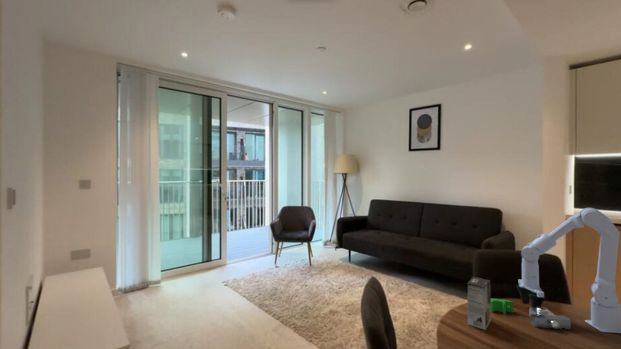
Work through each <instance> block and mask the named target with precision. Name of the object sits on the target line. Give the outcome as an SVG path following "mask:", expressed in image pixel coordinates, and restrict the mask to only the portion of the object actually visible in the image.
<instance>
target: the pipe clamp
mask: <svg viewBox="0 0 621 349" xmlns="http://www.w3.org/2000/svg"><path fill="white" fill-rule="evenodd" d="M513 303H514V301H512V300H507V299H499V298H492V297H491V313H494V312H500V313H502V312H503V315H506V314H507V312H509V313H514V304H513ZM506 311H507V312H506Z"/></svg>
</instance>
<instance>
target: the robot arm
mask: <svg viewBox="0 0 621 349" xmlns="http://www.w3.org/2000/svg"><path fill="white" fill-rule="evenodd" d="M585 226H586V227H590V228H592V229H593V230H595V231H596V232H597V233H598V234H599V235H600V237H599V238H600V239H599V249H598V250H599V251H598V259H597V260H598V261H597V269H596V275H595V279H594V282H593V283H592V284H591V286H590V291H591V293H592V295H593V297H592V298H590V319H585V320H584V322H585V323H587V324H588V325H590V326H591V327H593V328H594V329H596V330H597V331H599V332H602V333H613V334H615V333H616V334H621V303H619V297H618V295H617V293H616V289H617V288H616V281H615V280H616V273H617V262H618V253H619V242H620V231H619V229H618V228H617V227H616V226H615V225H614V223H613V222H612V221H611V220H610V219H609V216H606V214H604V212H602V211H600V210H598V209H597V208H594V207H585V208H582V209H581V210H580V211H579V212H576V213H575V214H572V215H571V216H569V217H568V218H567V219H566V220H565V221H563V222H562V223H560V225H558V226H557V227H556V228H554V229H553V230H552V231H551V232H550V233H541V234H538V235H536V238H535V239H534V240H532V241H531V242H528V243H527V245H525V246H523V247H522V248H521V252H520V254H521V255H520V256H521V279H520V278H519V279H517V280H518V281H517V282H518V285H516V288H517V289H516V290H518V292H519V295H520V299H521V302H522V304H525V305H529V304H530V305H531V307H534V308H536V307H542V305H543V303H544V301H546V299H547V296H546V295H545V292H544V291H542V288H541V287H540V270H539V269H540V268H539V266H540V265H539V259H540V256H541V255H544V254H546V253H547V252H548V251H550V250H551V249H552V248H554V247H555V246H556V245H557V240H559V239H561V238H562V237H563V236H565V235H566V234H568V233H569V232H571V231H572V230H574V229H579V228H580V229H581V228H585Z"/></svg>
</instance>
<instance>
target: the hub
mask: <svg viewBox="0 0 621 349" xmlns="http://www.w3.org/2000/svg"><path fill="white" fill-rule="evenodd" d="M528 312H529V317H530V314H538V315H556V314H555V313H553V312H552V311H550V310H549V309H548V308H546V307H544V306H541V307H536V308H534V307H532V306H530V307H528Z"/></svg>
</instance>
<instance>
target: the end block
mask: <svg viewBox="0 0 621 349" xmlns="http://www.w3.org/2000/svg"><path fill="white" fill-rule="evenodd" d="M529 317H530V324H531V326H533V327H534V328H546V329H547V328H550V329H555V330H557V329H562V328H565V330H571V325H572V324H571V319H570V318H569V317H567V316H566V315H557V314H555V315H538V314H530V316H529Z"/></svg>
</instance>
